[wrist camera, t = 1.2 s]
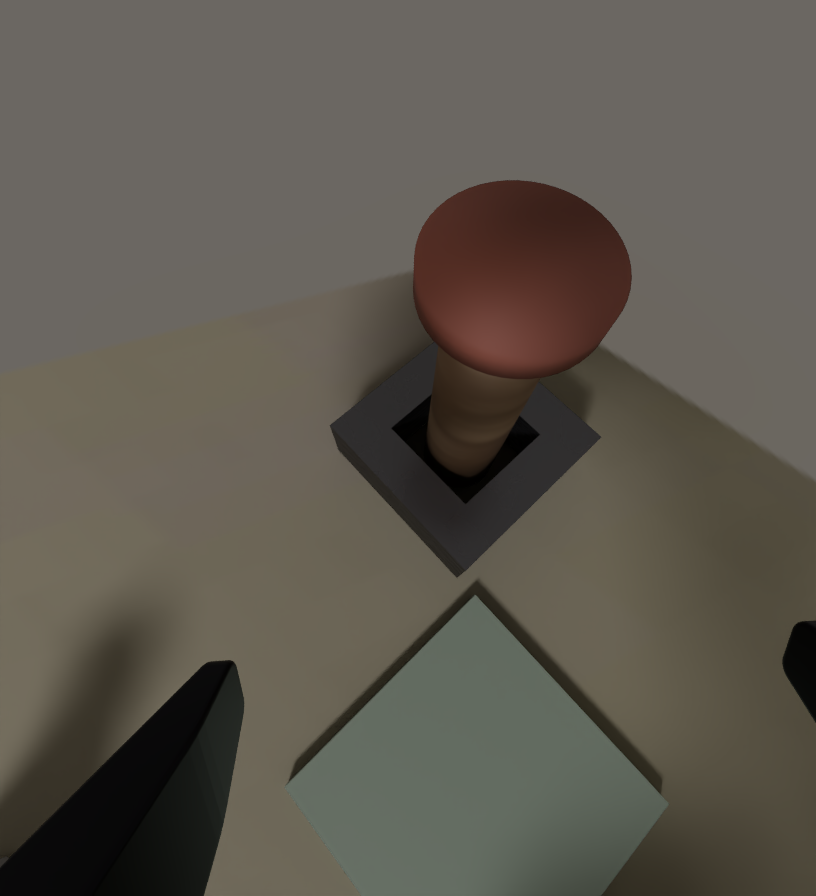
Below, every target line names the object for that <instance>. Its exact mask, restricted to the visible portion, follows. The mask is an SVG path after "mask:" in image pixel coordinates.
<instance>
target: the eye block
mask: <svg viewBox="0 0 816 896" xmlns="http://www.w3.org/2000/svg"><path fill="white" fill-rule="evenodd" d="M437 352H438V345H437V344H436V343H435V342H433V343H432V344H431V345H429V346H428V347H427V348H426V349H425V350H423V351H422V352H421V353H420V354H418V355H417V356H416V357H415V358H413V359H412V360H411V361H410V362H408V363H407V364H406V365H405V366H403V367H402V368H401V369H400V370H398V371H397V372H396V373H395V374H393V375H392V376H391V377H390V378H388V379H387V380H386V381H385V382H383V383H382V384H381V385H380V386H378V387H377V388H376V389H375V390H373V391H372V392H371V393H370V394H368V395H367V396H366V397H365V398H363V399H362V400H361V401H360V402H358V403H357V404H356V405H355V406H353V407H352V408H351V409H350V410H349V411H347V412H346V413H345V414H344V415H342V416H341V417H340V418H339V419H337V420H336V421H335V422H334V423H332V424H331V425H330V427H331V430H332V433H333V436H334V438H335V441H336V444H337V447H338V450H339V451H340V452H341V453H342V454H343V455H344V456H345V457H346V458H347V460H348V461H349V462H350V463H351V464H352V465H353V466H354V467H355V468H356V469H357V470H358V471H359V473H360V474H361V475H362V476H363V477H364V478H365V479H366V480H367V481H368V482H369V483H370V484H371V486H372V487H373V488H374V489H375V490H376V491H377V492H378V493H379V494H380V495H381V496H382V497H383V498H384V500H385V501H386V502H387V503H388V504H389V505H390V506H391V507H392V508H393V509H394V510H395V511H396V513H397V514H398V515H399V516H400V517H401V518H402V519H403V520H404V521H405V522H406V523H407V524H408V525H409V527H410V528H411V529H412V530H413V531H414V532H415V533H416V534H417V535H418V536H419V537H420V538H421V540H422V541H423V542H424V543H425V544H426V545H427V546H428V547H429V548H430V549H431V550H432V551H433V553H434V554H435V555H436V556H437V557H438V558H439V559H440V560H441V561H442V562H443V563H444V564H445V565H446V567H447V568H448V569H449V570H450V571H451V572H452V573H453V574H454V575H455V576H456V577H459V576H460V575H461V574H462V573H463V572H465V571H466V570H467V569H468V568H469V567H470V566H471V565H472V564H473V563H474V562H475V561H476V560H477V559H478V558H479V557H480V556H481V555H482V554H483V553H484V552H485V551H486V550H487V549H488V548H489V547H490V546H491V545H492V544H493V543H494V542H495V541H496V540H497V539H498V538H499V537H500V536H501V535H502V534H503V533H504V532H505V531H506V530H507V529H508V528H509V527H510V526H512V525H513V524H514V523H515V522H516V521H517V520H518V519H519V518H520V517H521V516H522V515H523V514H524V513H525V512H526V511H527V510H528V509H529V508H530V507H531V506H532V505H533V504H534V503H535V502H536V501H537V500H538V499H539V498H540V497H541V496H542V495H543V494H544V493H545V492H546V491H547V490H548V489H549V488H550V487H551V486H552V485H553V484H554V483H555V482H556V481H557V480H558V479H559V478H560V477H561V476H562V475H563V474H564V473H565V472H566V471H567V470H568V469H569V468H570V467H571V466H572V465H573V464H574V463H576V462H577V461H578V460H579V459H580V458H581V457H582V456H583V455H584V454H585V453H586V452H587V451H588V450H589V449H590V448H591V447H592V446H593V445H594V444H595V443H596V442H597V441H598V440H599V439H600V438H601V436H600V435H598V434H597V433H596V432H595V431H594V430H593V429H592V428H590V427H589V426H588V425H587V424H586V423H585V422H584V421H583V420H581V419H580V418H579V417H578V416H577V415H576V414H575V413H574V412H572V411H571V410H570V409H569V408H568V407H567V406H566V405H565V404H563V403H562V402H561V401H560V400H559V399H558V398H557V397H556V396H554V395H553V394H552V393H551V392H550V391H549V390H548V389H547V388H545V387H544V386H543V385H542V384H541V383H540V382H538V383H537V385H536V387H535V389H534V390H533V392H532V394H531V396H530V397H529V399H528V401H527V403H526V405H525V406H524V408H523V410H522V412H521V413H520V415H519V417H518V419H517V420H516V422H515V424H514V426H513V427H512V429H511V431H510V433H509V434H508V436H507V438H506V440H505V441H506V442H507V443H508V444H509V445H510V446H511V447H512V448H513V449H514V450H515V451H516V452H517V453H518V454H519V455H518V456H517V457H516V458H515V459H514V460H512V461H511V462H510V463H509V464H508V465H507V466H506V467H505V468H504V469H503V470H502V471H501V472H500V473H499V474H498V475H496V476H495V477H494V478H493V479H492V480H491V481H490V482H489V483H488V484H487V485H486V486H485V487H484V488H483V489H481V490H480V491H479V492H478V493H477V494H476V495H475V496H474V497H473V498H472V499H471V500H470V501H469V502H468V503H467V504H465V503H464V502H463V501H462V500H461V499H460V498H459V497H458V496H457V495H456V494H455V493H454V492H453V491H452V490H451V489H450V488H449V487H448V486H447V485H446V484H445V483H444V482H443V481H442V480H441V479H440V478H439V477H438V476H437V475H436V474H435V473H434V472H433V471H432V470H431V468H430V467H429V466H428V465H427V464H426V463H425V462H424V461H423V460H422V459H421V458H420V457H419V456H418V455H417V454H416V453H415V452H414V451H413V450H412V449H411V448H410V447H409V446H408V445H407V444H406V443H405V441H406V440H407V439H408V438H409V437H411V436H412V435H413V434H414V433H415V432H416V431H418V430H419V429H420V428H421V427H422V426H423V425H425V424H426V423H427V422H428V419H429V411H430V404H431V396H432V389H433V381H434V374H435V367H436V359H437Z"/></svg>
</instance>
